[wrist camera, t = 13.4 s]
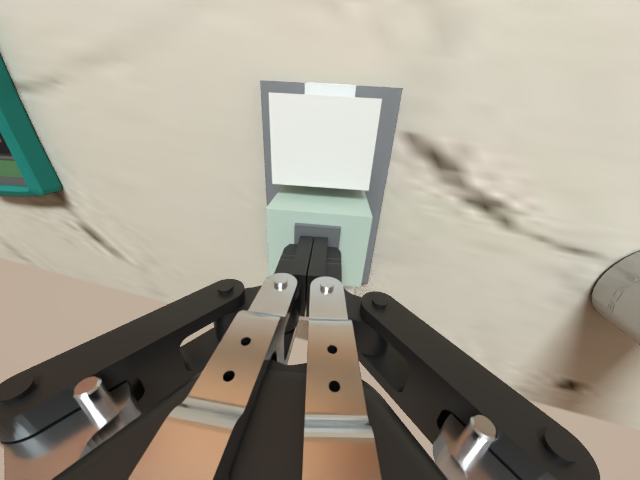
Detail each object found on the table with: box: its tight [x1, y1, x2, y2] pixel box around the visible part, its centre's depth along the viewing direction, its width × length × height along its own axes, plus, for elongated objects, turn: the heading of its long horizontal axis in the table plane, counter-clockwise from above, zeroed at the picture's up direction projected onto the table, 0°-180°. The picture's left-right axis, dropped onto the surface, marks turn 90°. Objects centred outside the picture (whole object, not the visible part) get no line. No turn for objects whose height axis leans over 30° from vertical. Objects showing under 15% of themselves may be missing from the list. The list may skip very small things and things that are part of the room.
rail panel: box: [260, 81, 403, 321], centre depth 19 cm, size 10×17×8 cm, turn 177°
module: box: [266, 185, 373, 287], centre depth 17 cm, size 6×4×8 cm
